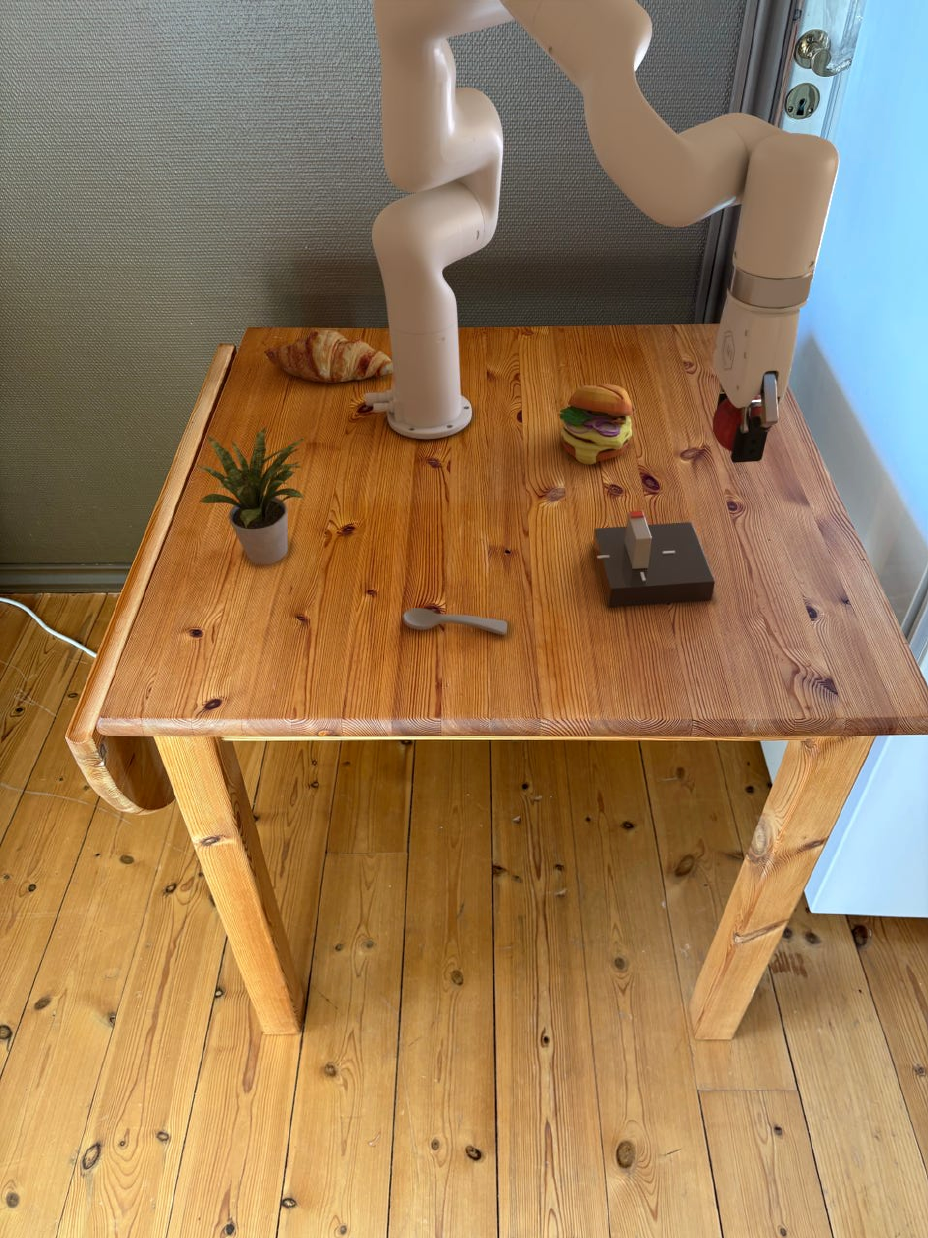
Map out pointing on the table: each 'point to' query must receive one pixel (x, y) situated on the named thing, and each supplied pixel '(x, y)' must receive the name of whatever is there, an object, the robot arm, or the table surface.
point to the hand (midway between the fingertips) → (737, 441)
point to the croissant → (330, 358)
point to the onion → (729, 422)
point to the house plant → (256, 499)
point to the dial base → (654, 567)
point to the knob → (638, 539)
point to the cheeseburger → (597, 423)
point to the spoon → (450, 621)
